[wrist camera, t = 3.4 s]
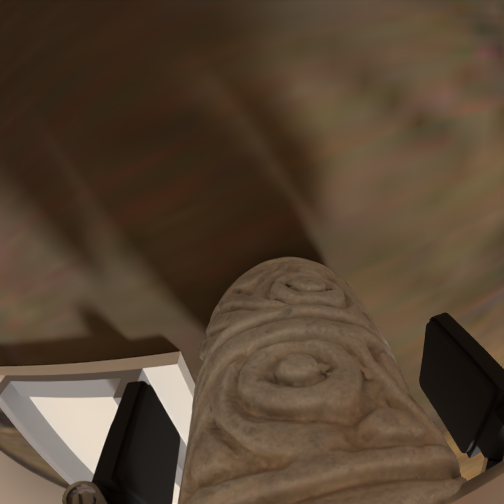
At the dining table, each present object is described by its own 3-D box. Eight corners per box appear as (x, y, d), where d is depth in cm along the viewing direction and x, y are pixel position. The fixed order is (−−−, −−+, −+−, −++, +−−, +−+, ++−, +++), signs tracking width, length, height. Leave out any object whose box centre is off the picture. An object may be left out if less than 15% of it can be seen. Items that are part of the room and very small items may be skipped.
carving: (321, 210, 13) (567, 466, 1) (361, 348, 15) (464, 557, 4) (178, 267, 13) (70, 579, 2) (246, 389, 15) (259, 616, 4)
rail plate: (-2, 366, 15) (-23, 392, 12) (180, 351, 14) (170, 393, 12) (133, 517, 22) (129, 539, 19) (264, 516, 22) (266, 541, 19)
